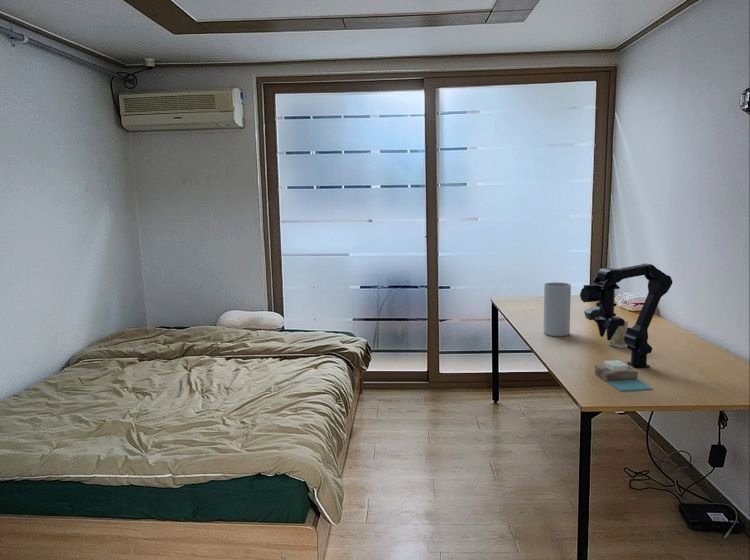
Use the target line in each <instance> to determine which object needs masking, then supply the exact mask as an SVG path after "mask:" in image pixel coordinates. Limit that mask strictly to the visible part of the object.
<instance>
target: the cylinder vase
mask: <svg viewBox="0 0 750 560" xmlns="http://www.w3.org/2000/svg"><path fill="white" fill-rule="evenodd" d="M543 288H544V289H543V290H544V291H543V292H544V293H543V333H544V334H545V335H546V336H550V337H558V338H559V337H567V336H569V334H571V333H570V332H571V297H572V295H571V294H572V293H571V290H572V285H571V284H570V283H568V282H567V283H566V282H554V281H553V282H545V283H544V287H543Z"/></svg>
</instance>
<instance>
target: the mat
mask: <svg viewBox="0 0 750 560" xmlns="http://www.w3.org/2000/svg"><path fill="white" fill-rule="evenodd" d="M607 383H608V384H609V385H611V386H612V387H613V388H615V389H616V390H617V391H619V392H632V391H634V392H635V391H647V390H648V391H651V390H653V388H652V387H651V386H649V385H648V384H646V383H644V382H643V381H641V380H640V379H637V380H623V381H608V382H607Z"/></svg>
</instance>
